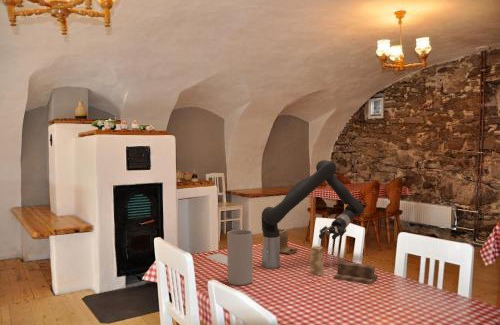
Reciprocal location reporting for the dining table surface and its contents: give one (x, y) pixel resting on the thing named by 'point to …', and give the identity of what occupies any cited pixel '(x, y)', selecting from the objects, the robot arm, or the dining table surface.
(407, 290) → the dining table surface
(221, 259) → the baseboard
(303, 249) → the dining table surface
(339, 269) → the walnut ridge
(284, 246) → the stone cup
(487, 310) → the dining table surface
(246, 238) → the cylinder vase
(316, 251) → the tan tall block
